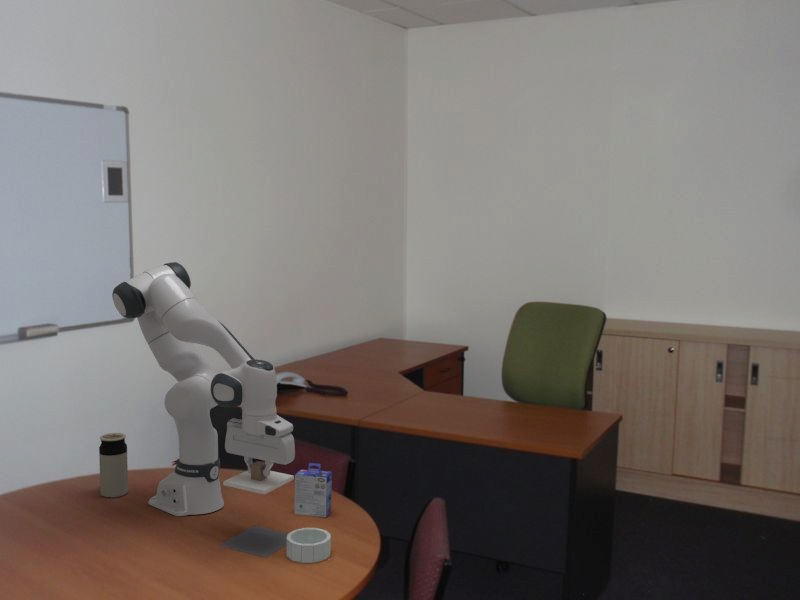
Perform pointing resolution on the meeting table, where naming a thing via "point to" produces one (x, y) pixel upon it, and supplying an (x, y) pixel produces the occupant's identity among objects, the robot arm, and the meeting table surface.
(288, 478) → the lid
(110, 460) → the travel mug
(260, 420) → the robot arm
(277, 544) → the mat
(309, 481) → the ink cartridge box
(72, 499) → the meeting table surface
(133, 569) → the meeting table surface
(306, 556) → the bowl
